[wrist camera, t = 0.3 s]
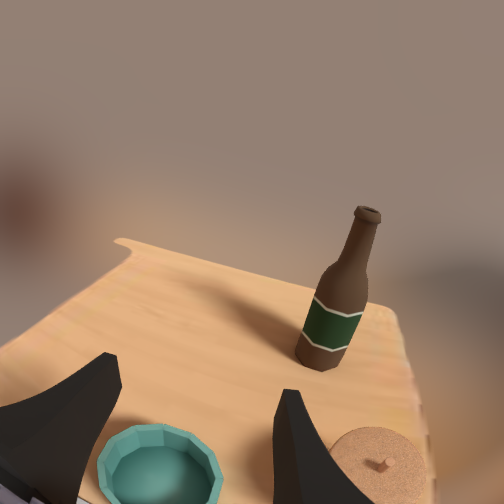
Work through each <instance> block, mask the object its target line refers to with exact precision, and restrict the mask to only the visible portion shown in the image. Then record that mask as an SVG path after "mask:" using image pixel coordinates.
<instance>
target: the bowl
mask: <svg viewBox="0 0 504 504" xmlns="http://www.w3.org/2000/svg"><path fill="white" fill-rule="evenodd" d="M97 470H98V479H99V487H100V490H101V491H102V492H103V493H104V495H105V496H106V497H107V498H108V500H109V501H110V502H111V503H112V504H217V501H218V497H219V494H220V490H221V487H222V483H223V480H224V479H223V475H222V472H221V470H220V467H219V464H218V462H217V459H216V456H215V453H214V452H213V451H212V450H211V449H209V448H208V447H207V446H206V445H205V444H204V443H203V442H201V441H200V440H199V439H198V438H197V437H196V436H195V435H194V434H192V435H191V433H190V432H187V431H184V430H181V429H178V428H175V427H172V426H169V425H166V424H164V425H163V424H149V425H135V427H134V426H131V427H130V428H128V429H126V430H124V431H122V432H120V433H118V434H116V435H114V436H113V437H111V439H109V440H108V442H107V443H106V445H105V447H104V449H103V450H102V452H101V454H100V455H99V457H98V459H97Z"/></svg>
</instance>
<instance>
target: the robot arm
mask: <svg viewBox="0 0 504 504" xmlns="http://www.w3.org/2000/svg"><path fill="white" fill-rule="evenodd" d="M121 389H122V383H121V378H120V373H119V367H118V362H117V356H116V355H113V354H110V353H106V352H104V353H102V354H101V355H100V356H98V357H97V358H95V359H94V360H92V361H91V362H90V363H88V364H87V365H85V366H84V367H83V368H81V369H80V370H78V371H77V372H75V373H74V374H72V375H71V376H70V377H68V378H67V379H65V380H63V381H62V382H60V383H58V384H57V385H55V386H53V387H52V388H50V389H48V390H46V391H44V392H42V393H40V394H38V395H36V396H33V397H31V398H28V399H26V400H23V401H20V402H17V403H14V404H11V405H7V406H3V407H0V504H76V503H77V498H78V493H79V489H80V485H81V481H82V478H83V474H84V471H85V468H86V465H87V462H88V459H89V456H90V454H91V451H92V448H93V446H94V444H95V442H96V440H97V438H98V436H99V434H100V432H101V430H102V429H103V427H104V425H105V423H106V421H107V420H108V418H109V416H110V414H111V412H112V410H113V408H114V407H115V404H116V402H117V399H118V397H119V394H120V391H121ZM272 439H273V463H274V497H273V504H375V503H374V502H373V501H372V500H370V499H369V498H368V497H367V496H366V495H365V494H364V493H363V492H362V491H360V490H359V489H358V487H357V486H356V485H355V484H354V483H353V482H352V481H351V480H350V479H349V478H348V477H347V476H346V475H345V473H344V472H343V471H342V470H341V468H340V467H339V466H338V464H337V463H336V462H335V460H334V459H333V458H332V456H331V455H330V453H329V452H328V450H327V448H326V447H325V445H324V443H323V442H322V440H321V438H320V436H319V435H318V433H317V431H316V429H315V427H314V425H313V423H312V421H311V419H310V416H309V414H308V412H307V410H306V407H305V405H304V402H303V399H302V397H301V394H300V392H299V391H298V390H291V389H283V392H282V396H281V399H280V402H279V405H278V408H277V411H276V414H275V416H274V425H273V438H272Z"/></svg>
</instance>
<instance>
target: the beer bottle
mask: <svg viewBox="0 0 504 504" xmlns="http://www.w3.org/2000/svg"><path fill="white" fill-rule="evenodd" d="M354 215H355V219H354V222H353V224H352V227H351V231H350V233H349V235H348V238H347V241H346V243H345V246H344V249H343V251H342V253H341V255H340V257H339V259H338V261H336V262H335V263H334V264H332V265H331V266H329V267H328V268H327V270H326V271H325V272H324V273H323V275H322V277H321V279H320V281H319V284H318V286H317V289H316V292H315V294H314V297H313V300H312V303H311V306H310V309H309V312H308V315H307V318H306V321H305V324H304V327H303V330H302V332H301V335H300V338H299V341H298V344H297V347H296V350H295V354H296V356H297V357H298V358H299V360H300V361H301V362H302V363H303V365H304V366H306V367H309V368H312V369H315V370H318V371H321V372H323V371H326V370H329V369H332V368H335V367H337V366H338V364H339V362H340V361H341V359H342V357H343V355H344V353H345V351H346V349H347V347H348V345H349V343H350V341H351V338H352V336H353V334H354V332H355V330H356V327H357V325H358V323H359V321H360V318H361V316H362V314H363V312H364V309H365V306H366V303H367V298H368V278H367V274H366V267H367V262H368V258H369V255H370V251H371V248H372V244H373V240H374V237H375V233H376V229H377V225H378V224H379V223H381V214H380V213H379V212H378V211H376V210H374V209H372V208H369V207H366V206H358V207H357V208H356V210H355V211H354Z"/></svg>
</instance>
